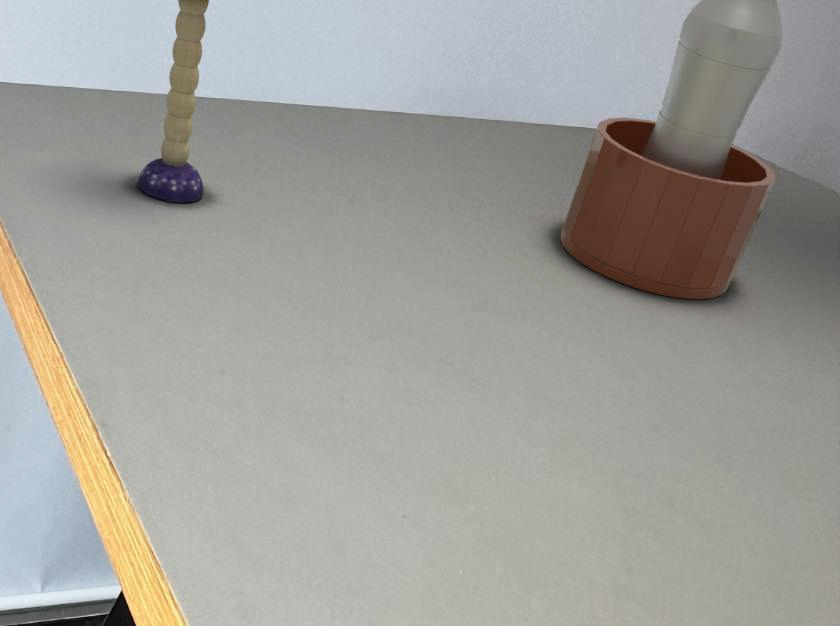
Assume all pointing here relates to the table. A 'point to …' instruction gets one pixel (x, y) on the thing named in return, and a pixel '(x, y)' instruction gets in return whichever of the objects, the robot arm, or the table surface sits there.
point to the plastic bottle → (714, 82)
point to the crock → (662, 215)
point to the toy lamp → (179, 113)
